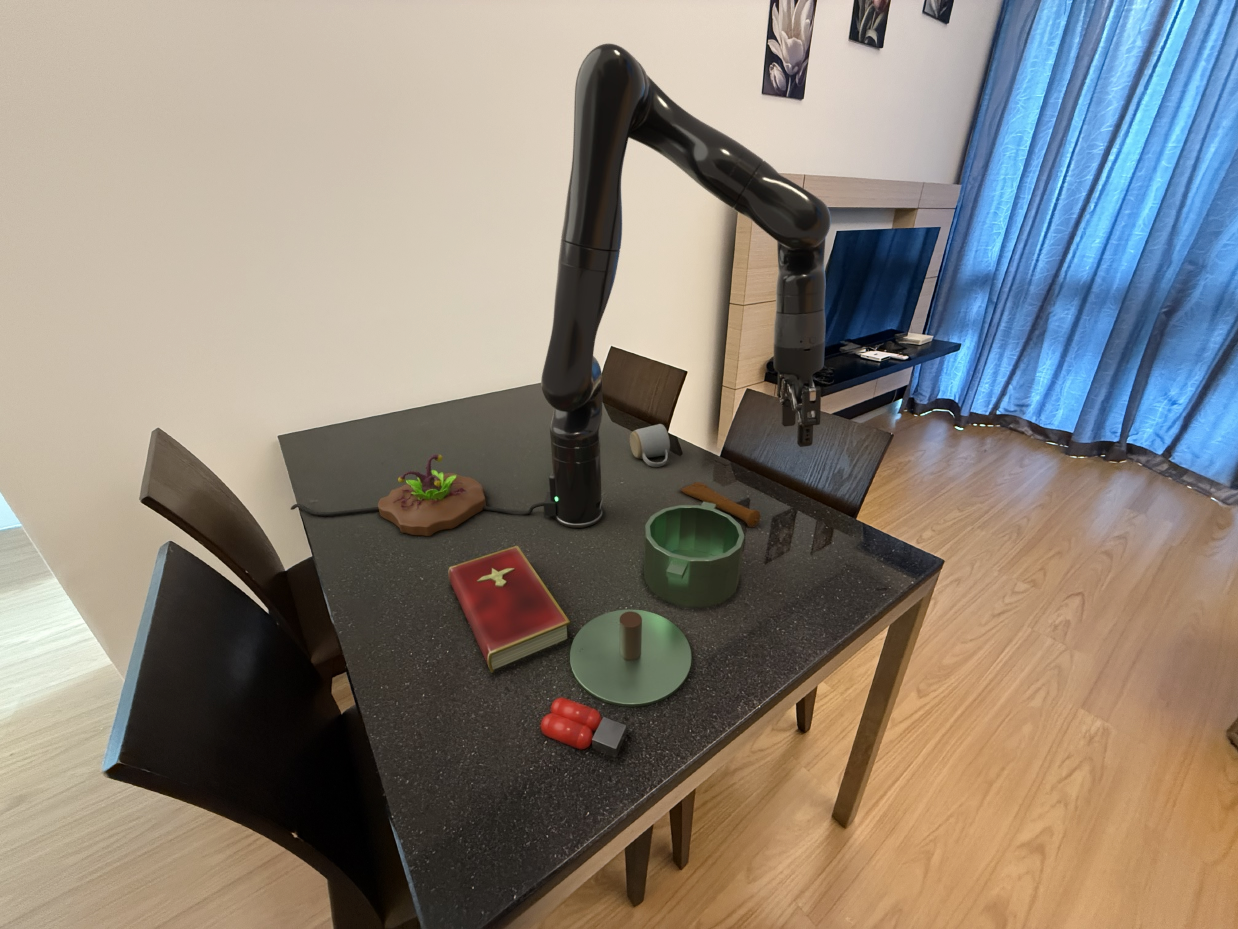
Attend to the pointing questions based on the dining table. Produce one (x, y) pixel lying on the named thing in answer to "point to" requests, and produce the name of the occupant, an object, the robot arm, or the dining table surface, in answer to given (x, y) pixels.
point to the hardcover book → (507, 606)
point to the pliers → (583, 727)
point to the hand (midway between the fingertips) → (796, 435)
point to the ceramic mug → (650, 444)
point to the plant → (432, 501)
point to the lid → (630, 658)
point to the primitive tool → (722, 503)
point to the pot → (693, 555)
